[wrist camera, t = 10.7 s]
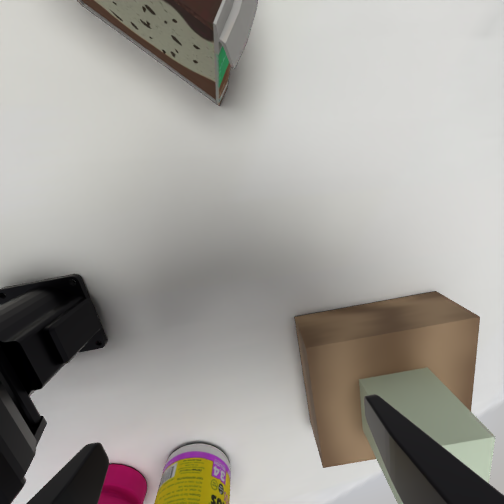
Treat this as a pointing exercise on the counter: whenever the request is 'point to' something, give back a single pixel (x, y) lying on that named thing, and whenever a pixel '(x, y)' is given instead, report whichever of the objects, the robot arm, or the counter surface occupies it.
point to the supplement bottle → (195, 477)
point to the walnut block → (379, 361)
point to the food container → (185, 35)
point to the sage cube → (431, 418)
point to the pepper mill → (123, 486)
